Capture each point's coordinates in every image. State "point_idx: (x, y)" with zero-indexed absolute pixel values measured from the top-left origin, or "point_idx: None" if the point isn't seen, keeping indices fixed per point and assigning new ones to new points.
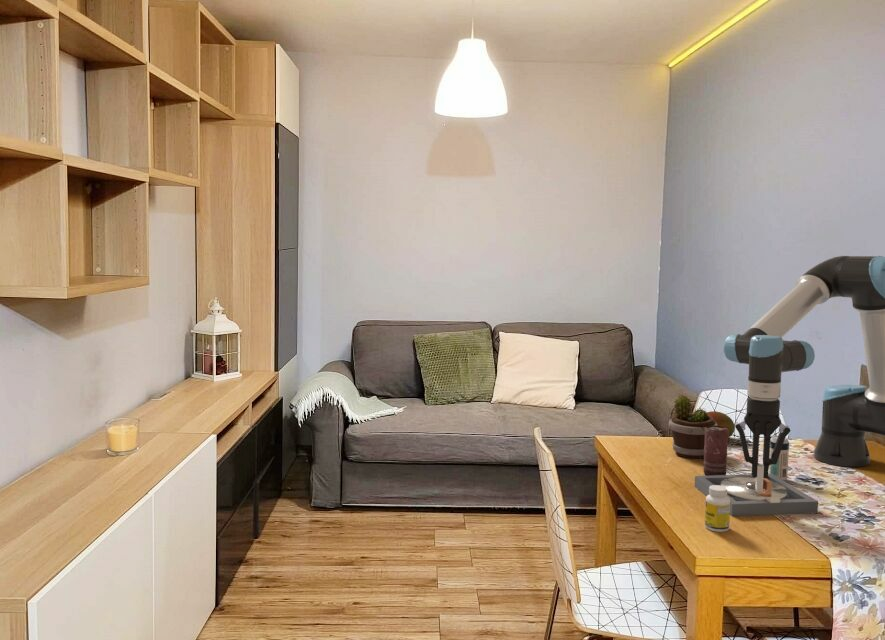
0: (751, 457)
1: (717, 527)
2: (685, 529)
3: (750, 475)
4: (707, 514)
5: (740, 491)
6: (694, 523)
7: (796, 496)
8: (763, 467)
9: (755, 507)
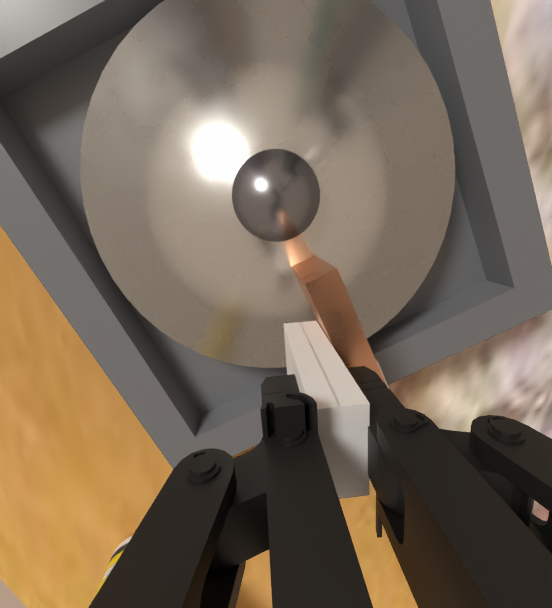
0: (258, 513)
1: None
2: (61, 600)
3: None
4: None
5: (206, 310)
6: (76, 549)
7: (480, 208)
8: (362, 486)
9: None
